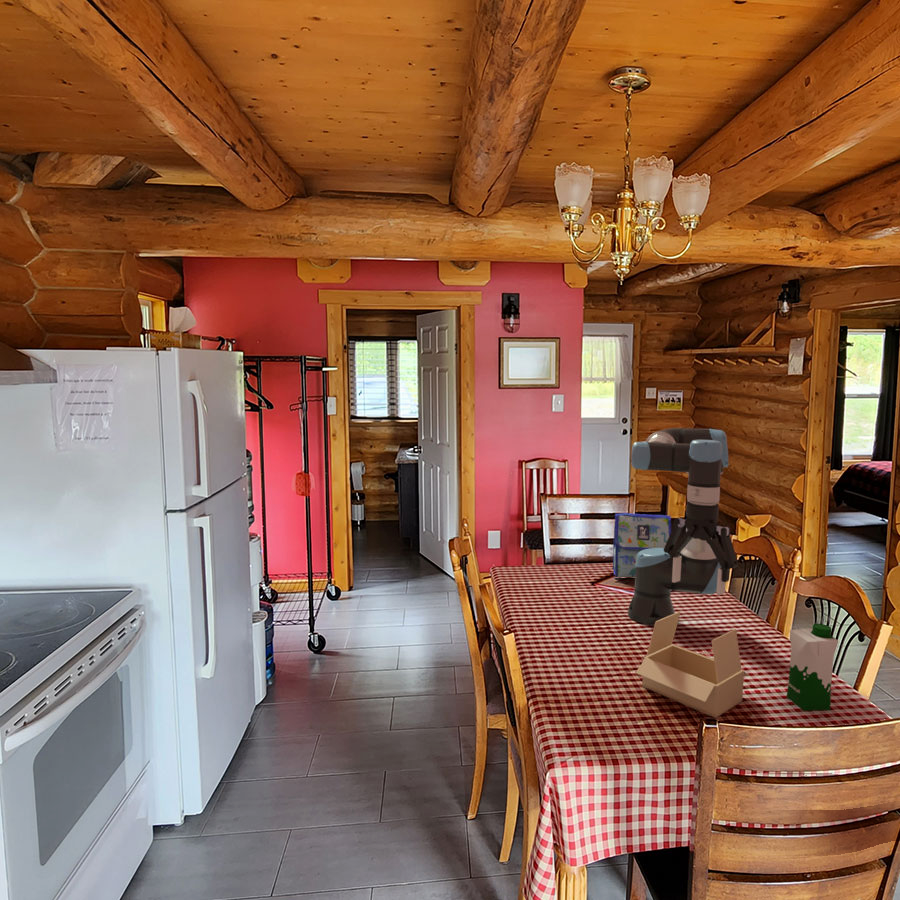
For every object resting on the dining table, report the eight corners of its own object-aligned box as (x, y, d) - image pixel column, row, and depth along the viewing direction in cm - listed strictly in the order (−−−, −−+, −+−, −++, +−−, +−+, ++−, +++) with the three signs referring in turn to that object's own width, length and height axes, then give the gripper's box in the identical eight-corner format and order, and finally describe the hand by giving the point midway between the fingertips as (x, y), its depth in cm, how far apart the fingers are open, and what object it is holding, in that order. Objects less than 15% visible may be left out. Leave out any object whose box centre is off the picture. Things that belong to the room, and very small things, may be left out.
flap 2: (717, 682, 155) (711, 640, 156) (740, 669, 162) (734, 629, 163) (718, 682, 155) (712, 640, 155) (741, 669, 162) (735, 629, 163)
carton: (632, 691, 168) (634, 661, 167) (678, 668, 182) (680, 640, 181) (706, 724, 153) (708, 691, 152) (750, 695, 166) (752, 665, 165)
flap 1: (646, 654, 170) (655, 621, 167) (670, 643, 177) (679, 611, 175) (647, 655, 170) (656, 621, 167) (671, 644, 177) (680, 612, 174)
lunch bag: (613, 581, 258) (616, 517, 255) (610, 569, 274) (613, 508, 271) (672, 585, 254) (675, 519, 251) (665, 572, 271) (668, 511, 268)
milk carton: (836, 711, 159) (843, 633, 157) (801, 713, 158) (807, 634, 156) (813, 694, 168) (819, 619, 165) (780, 695, 167) (785, 620, 164)
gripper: (652, 496, 168) (648, 578, 171) (742, 512, 150) (736, 603, 152) (668, 493, 173) (664, 573, 175) (757, 508, 155) (751, 596, 157)
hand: (697, 587), depth 164 cm, fingers open, 11 cm apart
